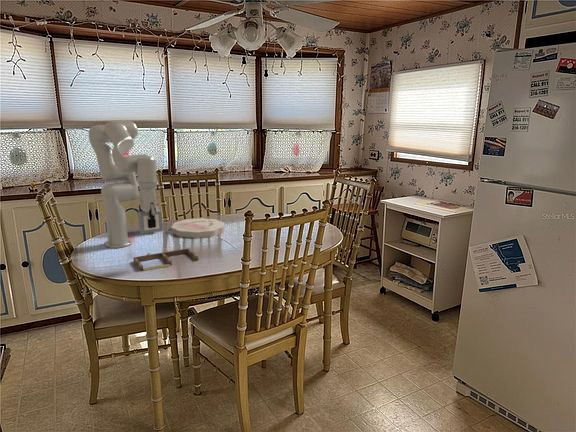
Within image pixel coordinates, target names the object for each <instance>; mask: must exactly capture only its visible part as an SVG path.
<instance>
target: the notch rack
mask: <svg viewBox="0 0 576 432" xmlns="http://www.w3.org/2000/svg"><path fill="white" fill-rule="evenodd" d="M184 254H188V255H190V256H191V257H192V258H193V259H194V260H195V261H199V259H200V258H199V255H197V254H196V253H195V251H194V252H193V251H192V250H191V248H182V249H176V250H170V251H164V252H159V253H153V254H152V253H146V254H145V255H140V256H134V257H133V262H134V264H135V265H136V266H137V268H138V269H139V270H140V271H141V272H142V271H143V272H145V271H151V270H152V271H153V270H157V269H163V268H167V267H171V266H172V265H173V263H172V259H170V258H169V257H172V256H177V255H184ZM161 258H162V260H163V261H164V262H166V263H167V264H166V263H165V264H161V265H156V266H151V267H146V268H145V267H144V265H143V264H142V263H141V262H143V261H149V260H150V261H151V260H154V259H155V260H156V259H161Z"/></svg>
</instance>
